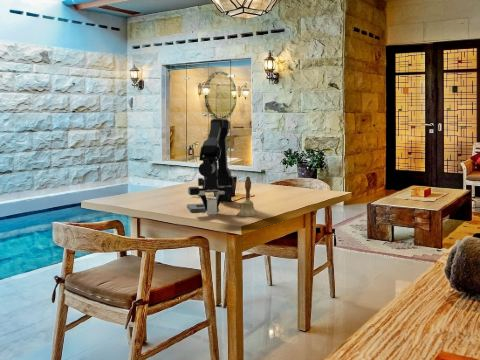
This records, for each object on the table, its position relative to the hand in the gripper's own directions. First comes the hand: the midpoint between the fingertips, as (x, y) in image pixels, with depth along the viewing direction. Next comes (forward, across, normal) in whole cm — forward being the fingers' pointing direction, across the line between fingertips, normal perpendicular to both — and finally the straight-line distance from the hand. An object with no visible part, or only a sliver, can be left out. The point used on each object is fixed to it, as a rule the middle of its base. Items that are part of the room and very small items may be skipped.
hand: (211, 210), depth 220 cm
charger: (+1, 0, 0) cm, 1 cm away
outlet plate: (+1, +2, -10) cm, 10 cm away
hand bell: (+2, -14, +7) cm, 16 cm away
